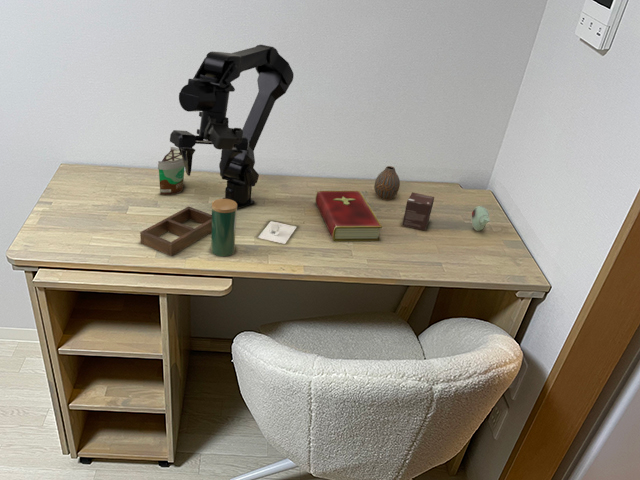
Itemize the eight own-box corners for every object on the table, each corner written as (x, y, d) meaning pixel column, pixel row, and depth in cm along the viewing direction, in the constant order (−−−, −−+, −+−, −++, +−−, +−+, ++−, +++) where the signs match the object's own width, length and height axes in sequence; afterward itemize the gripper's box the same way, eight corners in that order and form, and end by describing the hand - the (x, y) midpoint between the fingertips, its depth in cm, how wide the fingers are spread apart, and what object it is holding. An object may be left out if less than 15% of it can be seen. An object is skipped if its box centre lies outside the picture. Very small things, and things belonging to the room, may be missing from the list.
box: (429, 222, 162) (435, 196, 158) (424, 231, 158) (431, 205, 154) (406, 216, 164) (411, 191, 160) (401, 226, 160) (407, 200, 156)
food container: (180, 199, 167) (180, 164, 161) (158, 196, 167) (157, 161, 162) (192, 182, 177) (192, 148, 171) (171, 179, 177) (171, 146, 172)
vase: (400, 195, 176) (406, 166, 171) (391, 204, 171) (398, 174, 166) (377, 189, 178) (383, 161, 173) (368, 197, 174) (374, 168, 169)
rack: (188, 216, 158) (188, 206, 157) (218, 228, 154) (218, 217, 152) (140, 243, 146) (140, 232, 144) (171, 256, 141) (171, 244, 140)
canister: (217, 242, 148) (219, 196, 141) (239, 248, 146) (241, 202, 139) (206, 252, 144) (206, 205, 137) (228, 258, 142) (230, 211, 135)
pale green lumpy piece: (487, 238, 156) (495, 214, 153) (471, 236, 157) (478, 213, 153) (479, 223, 163) (486, 200, 159) (464, 222, 163) (471, 199, 159)
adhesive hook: (268, 234, 152) (269, 223, 151) (271, 230, 154) (272, 219, 153) (279, 237, 151) (280, 226, 150) (282, 232, 154) (284, 221, 152)
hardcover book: (332, 241, 151) (334, 225, 149) (314, 203, 168) (316, 189, 166) (379, 240, 152) (382, 225, 150) (357, 203, 170) (359, 189, 167)
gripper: (193, 114, 132) (184, 185, 139) (265, 120, 142) (254, 186, 148) (172, 104, 141) (165, 171, 147) (242, 110, 150) (232, 173, 157)
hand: (205, 175), depth 150 cm, fingers open, 9 cm apart
